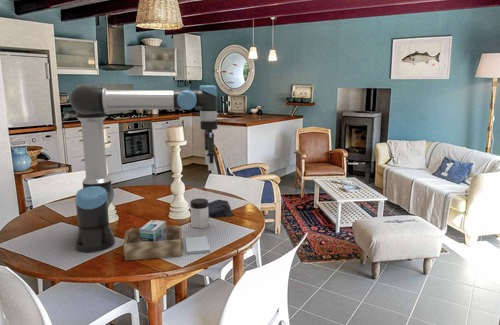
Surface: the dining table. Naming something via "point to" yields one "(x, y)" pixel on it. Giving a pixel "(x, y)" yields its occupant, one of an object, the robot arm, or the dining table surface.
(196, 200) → the jar
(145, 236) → the light bulb box
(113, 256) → the dining table surface
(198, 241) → the tile
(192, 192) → the dining table surface
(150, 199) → the dining table surface
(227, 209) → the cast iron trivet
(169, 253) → the carton
